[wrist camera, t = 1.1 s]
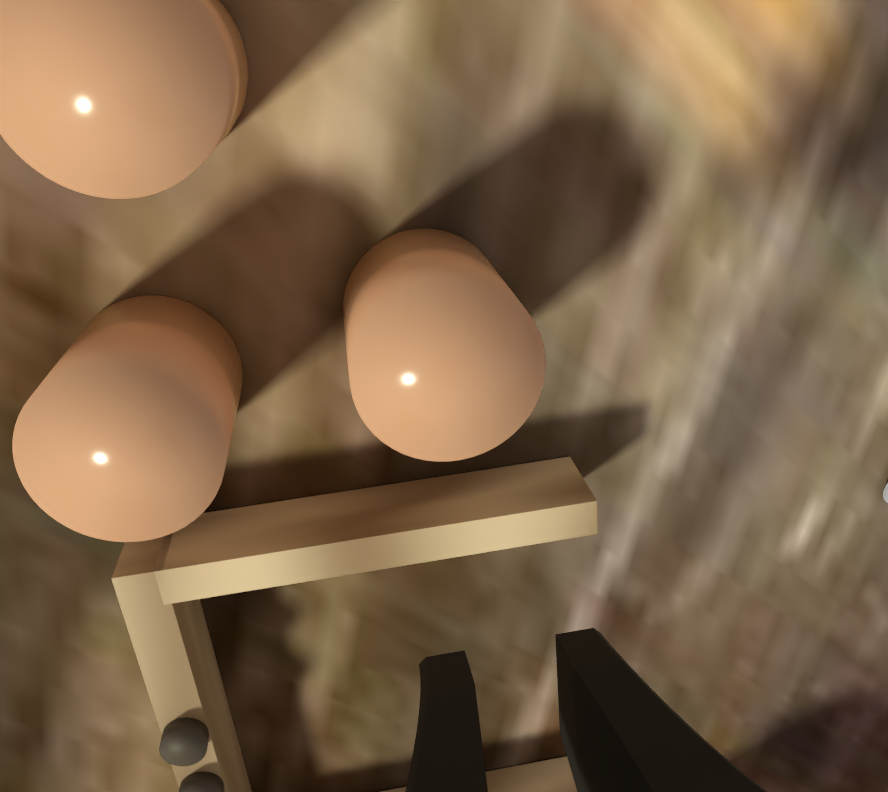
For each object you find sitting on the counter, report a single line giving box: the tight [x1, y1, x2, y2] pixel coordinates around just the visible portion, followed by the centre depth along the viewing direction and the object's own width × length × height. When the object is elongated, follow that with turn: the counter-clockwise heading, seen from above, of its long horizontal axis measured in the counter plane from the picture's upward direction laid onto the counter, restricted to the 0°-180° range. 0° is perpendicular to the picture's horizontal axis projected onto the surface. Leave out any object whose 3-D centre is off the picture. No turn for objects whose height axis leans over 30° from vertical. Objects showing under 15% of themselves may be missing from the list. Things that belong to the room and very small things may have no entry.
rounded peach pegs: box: [0, 0, 546, 542], centre depth 17 cm, size 11×11×4 cm
